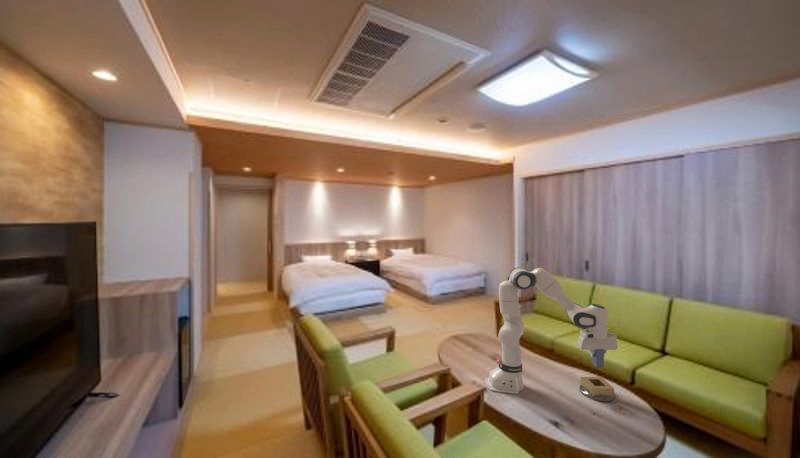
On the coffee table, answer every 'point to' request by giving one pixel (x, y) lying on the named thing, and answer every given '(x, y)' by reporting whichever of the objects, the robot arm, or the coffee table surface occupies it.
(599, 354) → the grey rectangular block
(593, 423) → the coffee table surface
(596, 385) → the rosette plate
